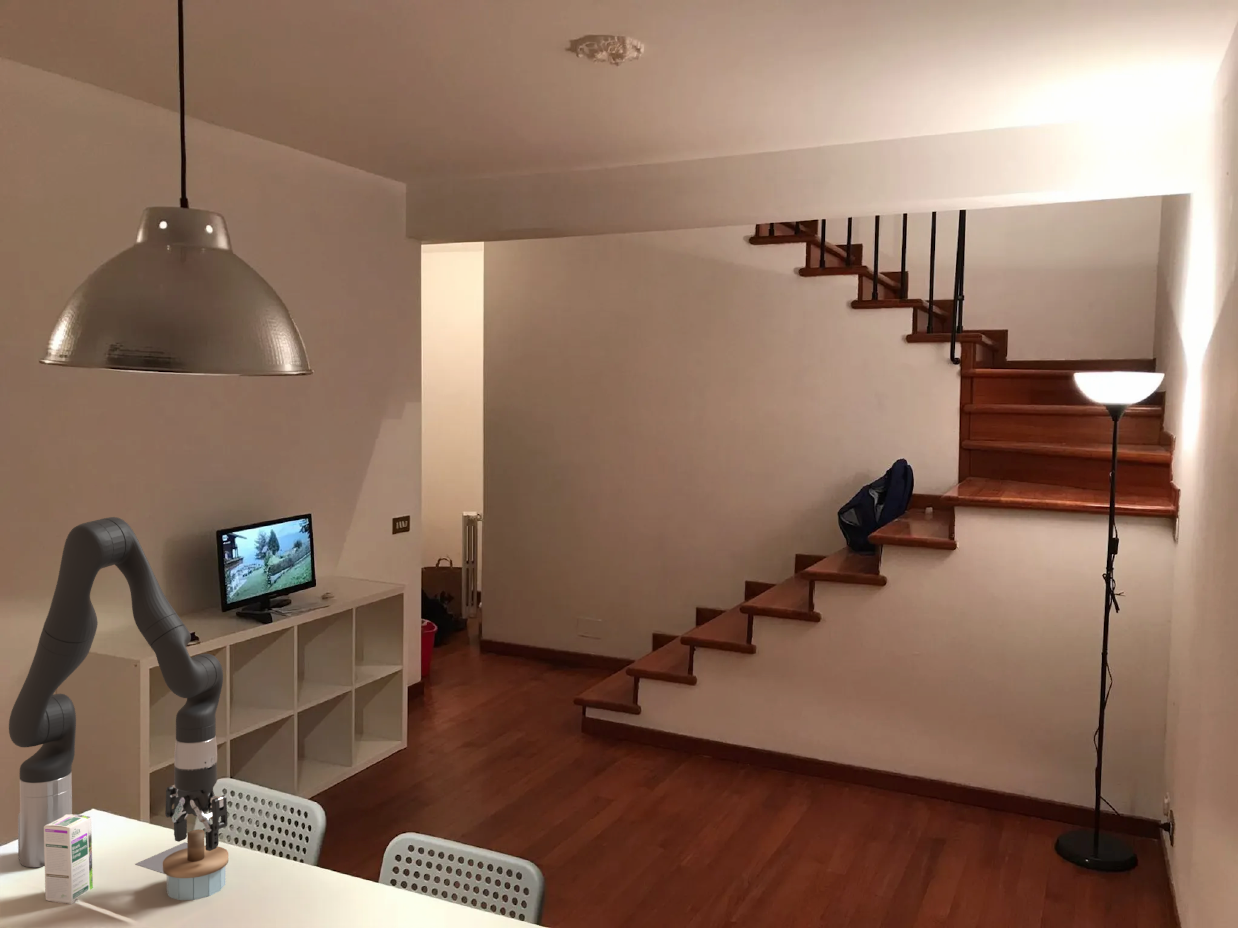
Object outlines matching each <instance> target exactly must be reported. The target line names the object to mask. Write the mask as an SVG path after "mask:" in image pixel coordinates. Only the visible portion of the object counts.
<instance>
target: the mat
mask: <svg viewBox="0 0 1238 928" xmlns="http://www.w3.org/2000/svg"><path fill="white" fill-rule="evenodd" d="M185 848H187V841H186V842H182V843H180V844H178V845H176V846H173V847H171V848H168V849H166V850H164V851H161V852H159V853H157V854H154V855H152V856H150V857H148V858H145V859H143V860H141V861H138V862H136V863H134V865H135V866H139V867H142V868H145V869H148V870H151V871H153V872H157V873H160V874H164V875H166V874H165V873H164V872H163V861H164V859H165V858H166V857H167V856H169V855H170V854H172V853H174V852H176V851H179V850H182V849H185Z"/></svg>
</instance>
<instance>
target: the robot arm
mask: <svg viewBox="0 0 1238 928" xmlns="http://www.w3.org/2000/svg"><path fill="white" fill-rule="evenodd" d="M111 566H115V567H116V568H117V569H118V570H119V571H120V572H121V573H122V574H123V576H124V578H125V579H126V582H127V584H128V587H129V590H130V599H131V608H132V611H131V612H132V616H133V620H134V623H135V625H136V628H137V629H138V631H139V632H140V634H141V635H142V636H143V638H144V639H145V641H146V642H147V643H148V645H149V647H150V648H151V649H152V651H153V652H154V654H155V657H156V661H157V663H158V666H159V669H160V672H161V675H162V677H163V680H164V682H165V684H166V686H167V688H168V689H169V690H170V691H171V692H172V693H173V694H175V696H177V697H179V698H182V699H186V702H185V703H184V705H183V706H182V707H181V708H180V709H179V710H178V712H177V713H176V715H175V744H174V745H175V746H174V755H173V756H174V771H173V772H174V784H173V785H170V786H168V787H166V788H165V816H166V818H171V821H172V823H173V835H174V841H175V842H182V841H184V840H187V833H188V829H187V828H188V819H186V818H187V817H188V816H189V815H193V816H194V817H197V819H198V821H199V822H200V823H202V824H203V826H204V828H205V830H206V831H205V846H206V850H207V851H211V850H213V849H216V848H217V846H218V847H219V839H220V838H219V834H220V833H219V830H221V829H223V828H226V827H227V826H228V801H227V795H226V794H223V795H219V796H217V795H215V792H214V787H215V785H216V784H217V783H218V743H217V735H216V733H217V732H216V731H217V729H216V728H217V727H216V726H217V725H216V723H217V722H216V714H217V713H216V712H217V709H218V705H219V702H220V698H221V695H222V694H221V692H222V688H223V683H224V671H223V670H224V669H223V666H222V664H221V662H220V660H219V659H218V658H217V657H216V656H215V655H213V654H211V653H200V654H197V655H194V656H192V657H191V656H190V654H189V651H188V649H187V646H188V644H189V643H190V642H191V639H192V635H191V632H190V631H189V629H188V628H187V626H186V624H185V623H184V621H183V620H182V619H181V618H180V616H179V615H178V613H177V611H175V609H174V607H173V606H172V605H171V602H169V600H168V599H167V597H166V595H165V594H164V591H163V589H162V587H161V585H160V584H159V582H158V579H157V578H156V575H155V573H154V571H153V569H152V567H151V564H150V562H149V559H148V558H147V556H146V554H145V551H144V549H143V548H142V545H141V543H140V542H139V539H138V538H137V535H136V534H135V532H134V530H133V529H132V527H131V526H130V525H129V524H128V522H127V521H125V520H124V519H123V518H119V517H115V516H110V517H104V518H99V519H96V520H91V521H87V522H83V523H80V524H78V525H76V526H74V527H73V528H72V529H71V530H70V531H69V533H68V534H67V537H66V539H65V541H64V546H63V551H62V556H61V559H60V565H59V571H58V572H59V573H58V577H57V581H56V584H55V585H56V586H55V589H54V593H53V596H52V600H51V603H50V607H49V609H48V610H49V611H48V613H47V616H46V618H45V621H44V623H43V626H42V629H41V633H40V635H39V640H38V644H37V646H36V647H37V648H36V650H35V653H34V656H33V659H32V662H31V665H30V667H29V671H28V674H27V675H26V678H25V680H24V682H23V685H22V686H21V689H20V692H19V693H18V696H17V697H16V700H15V702H14V704H13V706H12V709H11V712H10V716H9V721H8V733H9V737H10V741H11V742H12V743H13V744H14V745H15V746H17V747H19V748H33V747H36V746H40V745H41V747H40V748H39V749H38V750H37V751H36V752H35V753H33V755H31V756H30V757H28V758H27V759H25V760H24V761H23V762H22V763H21V765H20V766H19V812H18V813H17V843H18V846H17V849H18V853H17V854H18V855H17V856H18V859H19V860H20V861H19V862H20V864H21V865H22V866H23V867H27V868H44V867H45V857H44V826H45V825H47V824H50V823H52V822H54V821H56V820H58V819H60V818H62V817H64V816H65V815H66V814H67V815H73V796H72V795H73V787H72V783H73V782H72V781H73V780H72V779H73V777H72V776H73V774H72V771H73V769H72V765H73V762H74V760H75V753H76V732H77V731H76V730H77V714H76V713H77V712H76V708H75V704H74V702H73V701H72V699H71V698H70V696H68V695H67V694H65V693H55V692H56V691H57V690H58V688H59V687H60V686H61V685H62V684H63V683H64V682H65V680H67V679H68V678H69V677H70V676H71V675H72V674H73V673H74V672H75V671H76V670H77V668H79V667H80V666H81V664H82V663H83V662H84V660H86V658H87V657H88V654H89V653H90V651H91V648H92V645H93V642H94V639H95V637H96V636H95V635H97V634H96V633H97V629H98V623H99V622H98V617H97V613H96V610H95V608H94V604H93V602H92V599H91V592H92V588H93V585H94V582H95V579H96V577H97V575H98V573H99V572H100V570H101V569H105V568H109V567H111ZM208 811H209V812H210V813H208ZM210 820H211V822H212V823H211V822H210Z"/></svg>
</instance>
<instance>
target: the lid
mask: <svg viewBox="0 0 1238 928" xmlns="http://www.w3.org/2000/svg"><path fill="white" fill-rule="evenodd" d="M186 840H187V841H186V843H187V848H185V849H182V850H179V851H176V852H174V853H172V854H170V855H169V856H167V857H166V858H165V859H164V861H163V872H164V873H165V874H164V875H166V876H167V875H168V876H170V877H175V878H194V877H200V876H205V875H208V874H211V873H214V872H216V871H218V870H220V869H222V868H223V867H225V868H226V867H227V865H228V863H229V851H228V850H227V849H226V848H224V847H221V846H219V845H218V846H217V848H216V849H213V850H211V851H207V850H206V845H205V830H204V829H201V828H199V829H192V830H189V831H187V837H186Z"/></svg>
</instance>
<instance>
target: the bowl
mask: <svg viewBox="0 0 1238 928" xmlns="http://www.w3.org/2000/svg"><path fill="white" fill-rule="evenodd" d="M225 886H226V866H225V867H223V868H222V869H220V870H218V871H216V872H214V873H211V874H208V875H205V876H200V877H194V878H175V877H170V876H168V875H166V894H167V897H169V898H171V899H173V900H178V901H195V900H200V899H204V898H209V897H211V896H213V895H215V894H216V893H219V892H221V890H222V889H223V888H224V887H225Z"/></svg>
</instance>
